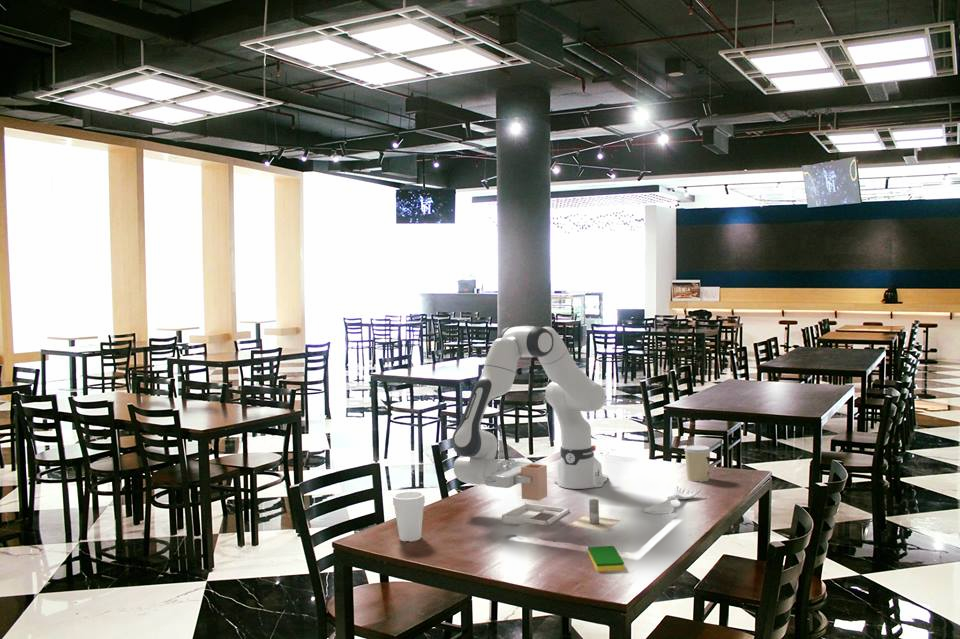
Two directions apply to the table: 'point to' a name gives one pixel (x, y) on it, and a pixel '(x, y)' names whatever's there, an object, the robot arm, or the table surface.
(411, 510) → the foam cup
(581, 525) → the stand
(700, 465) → the coffee cup
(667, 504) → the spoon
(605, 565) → the dish sponge
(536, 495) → the sleeve
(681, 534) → the table surface
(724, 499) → the table surface
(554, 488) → the table surface
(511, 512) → the tray
